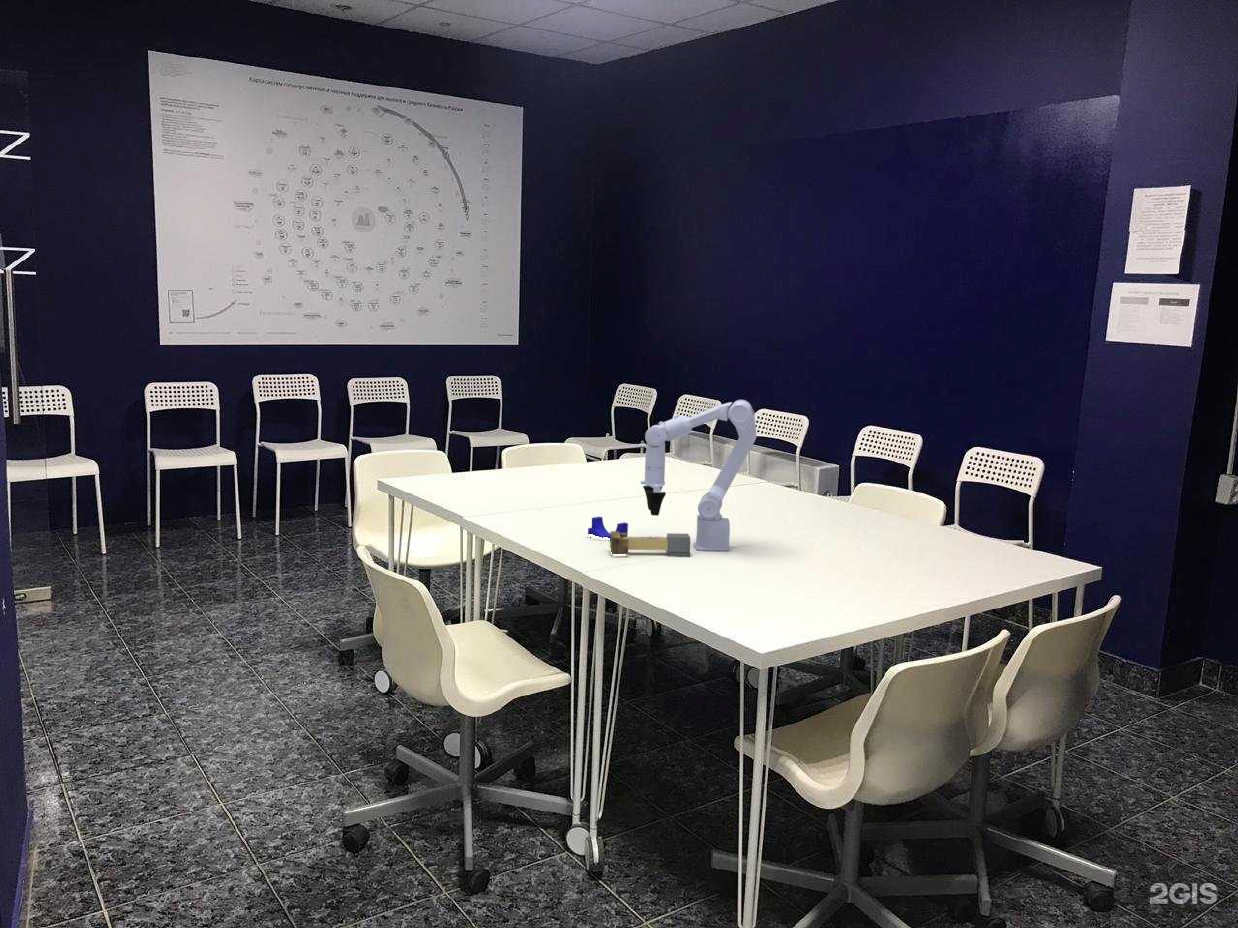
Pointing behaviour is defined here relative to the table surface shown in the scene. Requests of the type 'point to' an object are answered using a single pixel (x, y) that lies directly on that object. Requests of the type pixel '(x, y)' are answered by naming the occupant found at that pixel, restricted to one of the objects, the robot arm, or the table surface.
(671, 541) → the sleeve
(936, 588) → the table surface
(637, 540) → the tube
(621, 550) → the socket block
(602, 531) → the cable clip
